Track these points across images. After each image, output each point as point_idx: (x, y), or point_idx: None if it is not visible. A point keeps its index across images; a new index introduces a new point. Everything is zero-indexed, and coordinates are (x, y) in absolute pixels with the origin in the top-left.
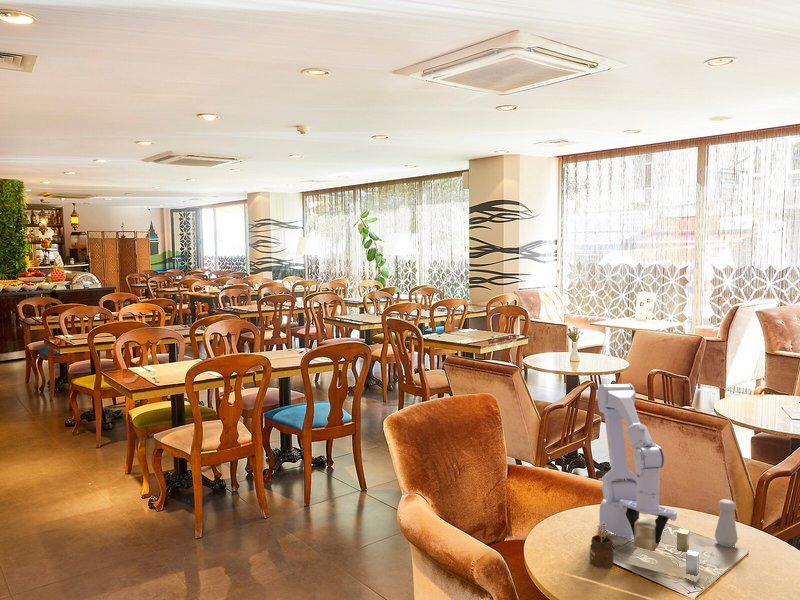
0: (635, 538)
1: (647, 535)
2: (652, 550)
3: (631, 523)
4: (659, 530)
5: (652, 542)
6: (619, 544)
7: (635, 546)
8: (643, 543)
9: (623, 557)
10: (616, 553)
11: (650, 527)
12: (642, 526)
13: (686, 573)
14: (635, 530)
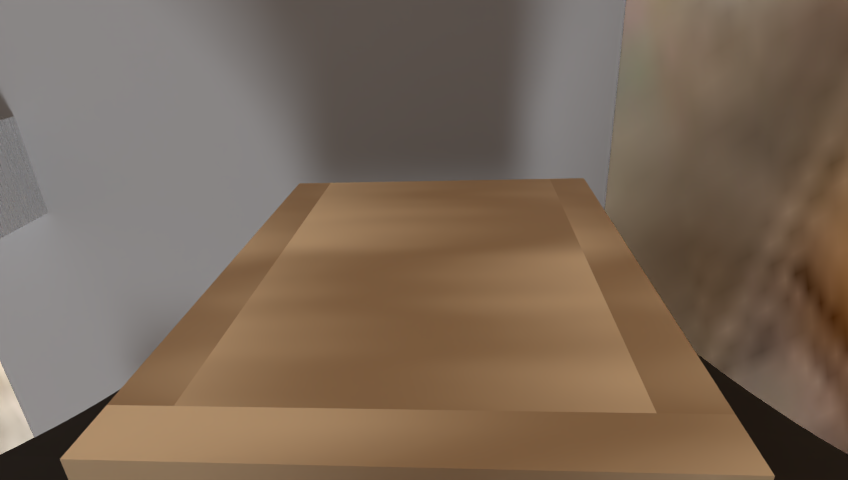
0: (591, 228)
1: (352, 285)
2: (317, 184)
3: (831, 476)
4: (46, 451)
5: (285, 234)
6: (751, 367)
7: (563, 181)
8: (444, 208)
9: (668, 124)
10: (757, 171)
11: (206, 435)
12: (466, 414)
13: (3, 119)
14: (641, 310)
